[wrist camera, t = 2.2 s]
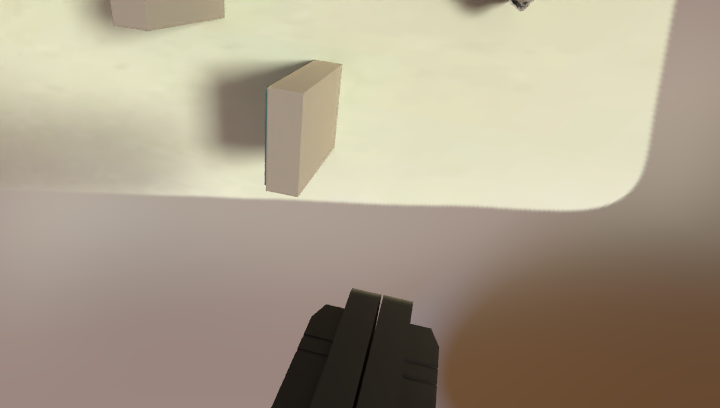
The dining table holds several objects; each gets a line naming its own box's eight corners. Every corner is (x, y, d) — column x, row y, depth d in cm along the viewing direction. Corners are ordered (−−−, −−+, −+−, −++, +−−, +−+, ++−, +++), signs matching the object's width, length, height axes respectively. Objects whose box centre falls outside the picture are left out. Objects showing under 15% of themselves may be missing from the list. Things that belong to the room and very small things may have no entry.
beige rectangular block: (312, 59, 25) (264, 86, 19) (342, 64, 25) (303, 93, 19) (307, 142, 27) (262, 190, 21) (334, 147, 27) (297, 197, 21)
